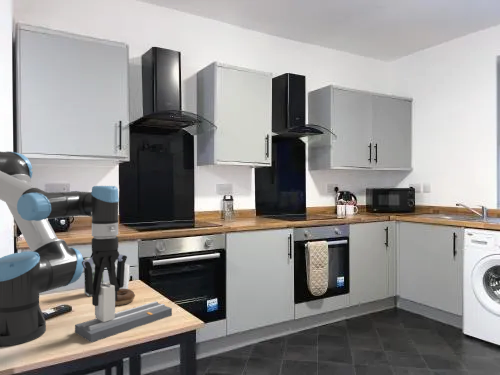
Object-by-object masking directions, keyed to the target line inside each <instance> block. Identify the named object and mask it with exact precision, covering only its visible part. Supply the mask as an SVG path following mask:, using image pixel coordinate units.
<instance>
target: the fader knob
mask: <svg viewBox="0 0 500 375" xmlns="http://www.w3.org/2000/svg"><path fill="white" fill-rule="evenodd" d="M99 294H101V295H102V317H98V316H96V315H95V314H94V316H95V318H96V319H98V322H99V323H101V322H106V321H109V320H112V319H115V313H116V305H115V286H114V285H111V284H110V283H108V282H103V283H101V286H100V292H99ZM95 318H94V319H95Z"/></svg>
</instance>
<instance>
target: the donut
mask: <svg viewBox="0 0 500 375" xmlns="http://www.w3.org/2000/svg"><path fill="white" fill-rule="evenodd" d="M135 297H136V295H135V291H133V290H131V289H129V288H128V289H123V288H122V289H120V290H119V291H117V301H115V306H121V305H127V304H130V303H131V302H133V301H134V299H135Z"/></svg>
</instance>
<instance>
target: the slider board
mask: <svg viewBox="0 0 500 375" xmlns="http://www.w3.org/2000/svg"><path fill="white" fill-rule="evenodd" d="M172 314H173V308H172V307H171V306H170V307H169V306H167V305H166V304H164V303H159V301H157V300H155V301H151V302H148V303H145V304H143V305H138V306H133V307H131V308H127V309H125V310H121V311H117V312H115V319H112V320H109V321H106V322H101V323H99V322H98V319H97V318H94V319H89V320H87V321H83V322H80V323H76V324H75V325H74V334H76V335H78V336H79V337H82V338H83V339H85V340H87V341H88V342H90V343H94V342H97V341H101V340H103V339H107V338H109V337H111V336H115V335H118V334H121V333H124V332H127V331H130V330H132V329H135V328H138V327H141V326H145V325H147V324H151V323H153V322H154V323H155V322H156V321H159V320H162V319H165V318H168V317H170V316H172Z"/></svg>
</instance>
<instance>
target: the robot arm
mask: <svg viewBox="0 0 500 375" xmlns="http://www.w3.org/2000/svg"><path fill="white" fill-rule="evenodd" d="M32 170H33V166H32V163H31V161H30V160H29V158H28V157H27V156H25V155H24V154H22V153H19V152H15V151H8V150H7V151H0V201H2V202H4V203H5V204H6V205H7V207H8V209H9V211H10V214H11V215H12V217H13V219H14V221H15V223H16V225H17V227H18V229H19V231H20V232H21V234H22V236H23V239H24V240H25V243H26V244H27V246H28V248H29V250H30V251H22V252H15V253H11V254H7V255H5V256H4V255H3V256H2V257H0V347H6V346H7V347H8V346H13V345H20V344H24V343H26V342H30V341H33V340H35V339H37V338H39V337H41V336H43V335H44V334H45V333H46V331H47V323H46V320H45V317H44V314H43V312H42V309H41V306H40V294H42V293H45V292H50V291H51V290H56V289H59V288H62V287H66V286H68V285H71V284H73V283H76V282H77V281H78V280H79V279H80V278H81V276H82V274H83V272H84V291H86V293H88V294H90V295H92V296H91V298H92V299H91V305H92V306H94V316H95V315H96V316H98V317H102V295H101V294H99V292H100V286H101V280H102V274H103V275H104V273H103V272H104V271H105V269H106V270H107V275H108V280H109V284H111V285H114V286H115V301H117V291H119V290H120V289H119V288H122V287H123V286H124V270H125V264H126V262H127V259H128V256H127V255H124V254H120V251H119V237H118V235H119V202H120V199H119V198H120V197H119V189H118V187H117V186H115V185H94V186H92V188H91V191H90V192H89V191H79V190H75V191H73V190H70V191H65V192H63V191H62V192H61V191H59V192H57V191H55V192H47V191H45V190H42V189H40V188H38V187H36V186H34V185H31V183H32V182H31V181H32V177H33V172H34V171H32ZM71 217H72V218H73V217H91V236H92V238H91V255H90V256H89V257H90V259H88V260H86V261H85V260H84V257H83V255H82V253H81V251H80V250H79V249H77V248H74V247H70V248H69V246H68V243H67V241H66V240H65V239H62V238H58V236H57V235H56V232H55V231H54V229H53V227H52V225H51V224H50V223H51V222H50V221H49V220H52V219H53V220H54V219H60V218H61V219H62V218H71ZM116 261H117V263H116ZM92 262H93V263H94V264H95V274H94V280H93V277H92V267H91V266H92ZM115 264H117V276H116V272H115V269H116V267H115Z"/></svg>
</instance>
